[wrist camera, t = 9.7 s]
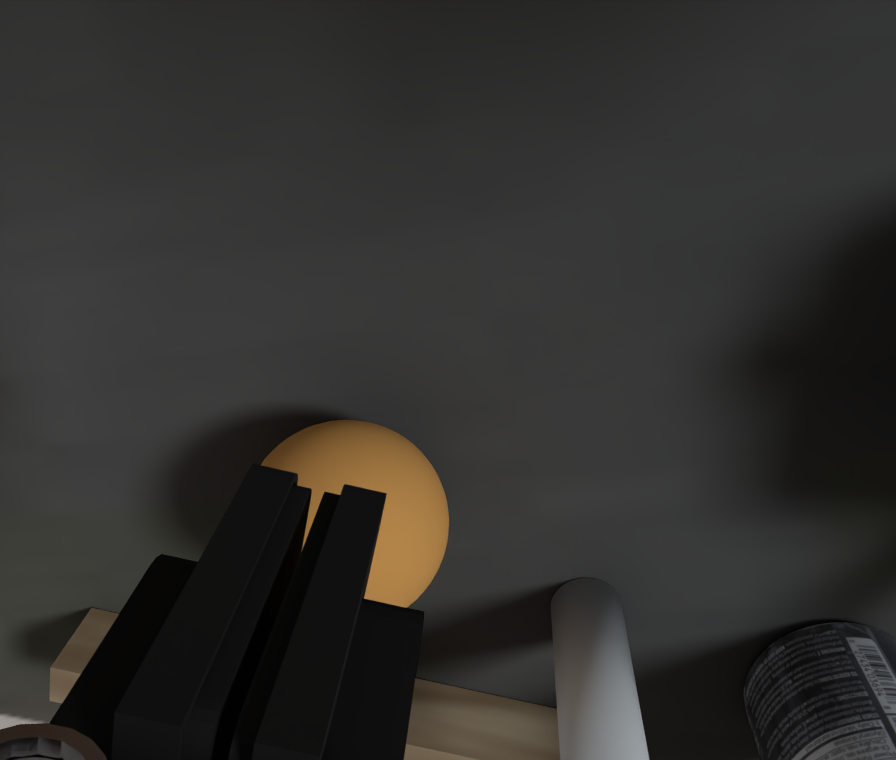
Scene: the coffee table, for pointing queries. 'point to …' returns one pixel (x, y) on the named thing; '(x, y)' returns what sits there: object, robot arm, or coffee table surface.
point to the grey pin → (594, 675)
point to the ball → (385, 470)
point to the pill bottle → (825, 695)
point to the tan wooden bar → (431, 719)
